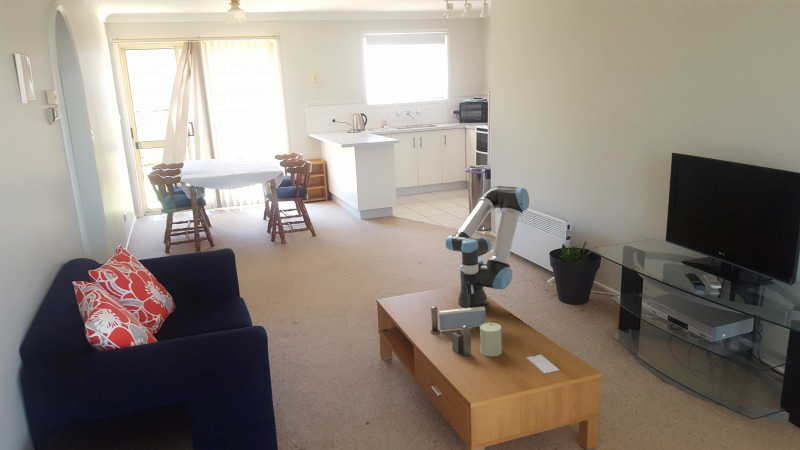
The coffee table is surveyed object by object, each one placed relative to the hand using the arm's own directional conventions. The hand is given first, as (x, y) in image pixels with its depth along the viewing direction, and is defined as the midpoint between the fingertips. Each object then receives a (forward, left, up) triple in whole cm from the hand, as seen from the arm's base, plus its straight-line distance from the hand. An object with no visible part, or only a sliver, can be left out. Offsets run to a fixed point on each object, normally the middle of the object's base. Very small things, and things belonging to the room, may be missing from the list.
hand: (471, 318), depth 278 cm
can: (+9, +29, -3) cm, 31 cm away
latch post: (+20, +23, -3) cm, 30 cm away
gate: (+7, +3, -2) cm, 8 cm away
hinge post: (+19, -1, -3) cm, 20 cm away
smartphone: (-2, +50, -3) cm, 50 cm away
